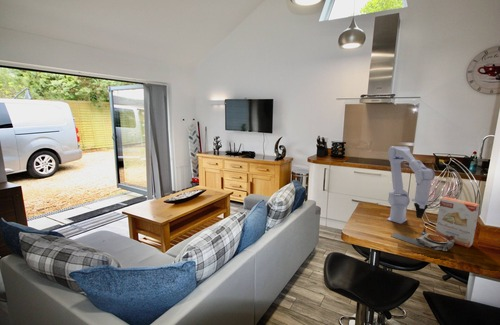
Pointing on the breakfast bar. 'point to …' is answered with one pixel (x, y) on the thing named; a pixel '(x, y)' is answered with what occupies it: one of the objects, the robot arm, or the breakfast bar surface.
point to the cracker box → (457, 220)
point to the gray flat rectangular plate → (407, 239)
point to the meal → (435, 241)
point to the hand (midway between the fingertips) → (419, 217)
